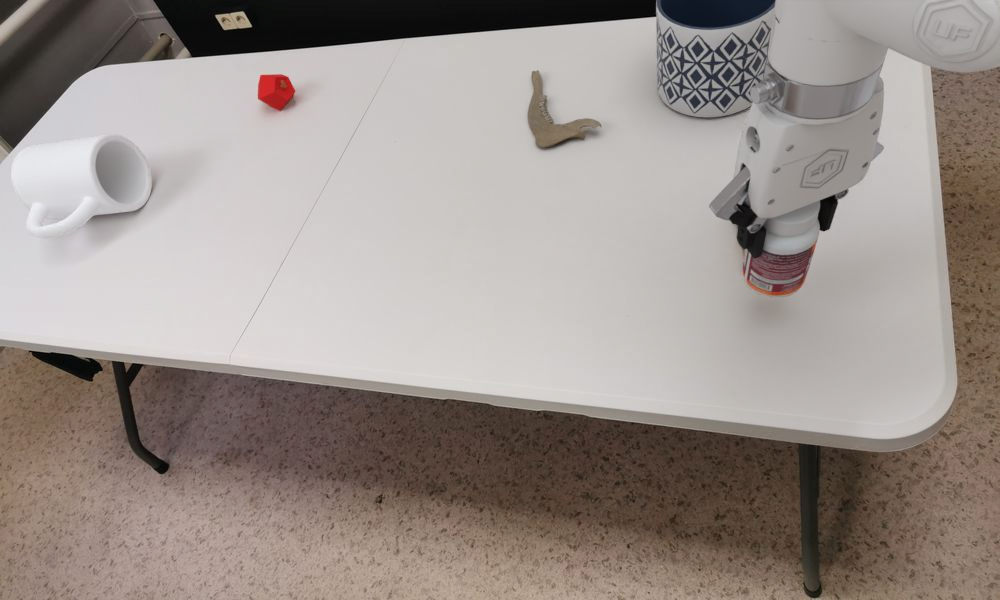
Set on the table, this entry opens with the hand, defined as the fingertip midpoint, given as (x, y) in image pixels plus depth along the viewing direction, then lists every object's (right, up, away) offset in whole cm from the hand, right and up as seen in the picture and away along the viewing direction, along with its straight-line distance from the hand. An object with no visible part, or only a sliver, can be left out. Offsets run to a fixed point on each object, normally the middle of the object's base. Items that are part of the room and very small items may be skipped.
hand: (782, 233), depth 59 cm
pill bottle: (+2, -4, +6) cm, 7 cm away
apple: (-68, +31, +57) cm, 94 cm away
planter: (+5, +26, +34) cm, 43 cm away
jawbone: (-17, +24, +38) cm, 48 cm away
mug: (-97, +8, +49) cm, 109 cm away
